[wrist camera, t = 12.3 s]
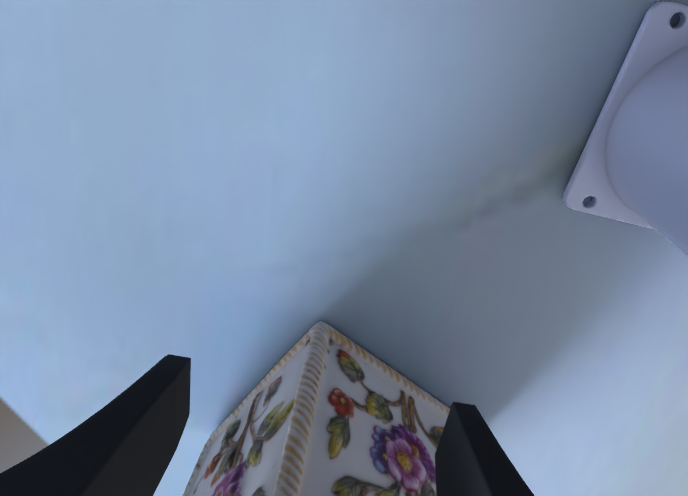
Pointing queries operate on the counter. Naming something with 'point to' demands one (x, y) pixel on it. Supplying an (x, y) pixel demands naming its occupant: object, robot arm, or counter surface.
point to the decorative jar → (325, 429)
